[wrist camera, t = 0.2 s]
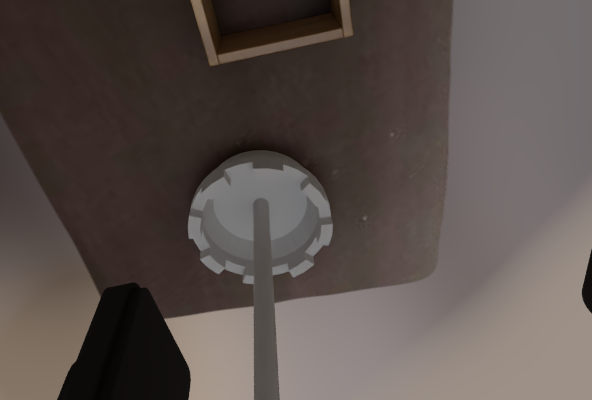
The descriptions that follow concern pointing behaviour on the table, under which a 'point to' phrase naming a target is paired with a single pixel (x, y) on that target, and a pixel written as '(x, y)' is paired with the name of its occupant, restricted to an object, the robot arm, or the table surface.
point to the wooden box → (270, 33)
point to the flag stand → (260, 236)
